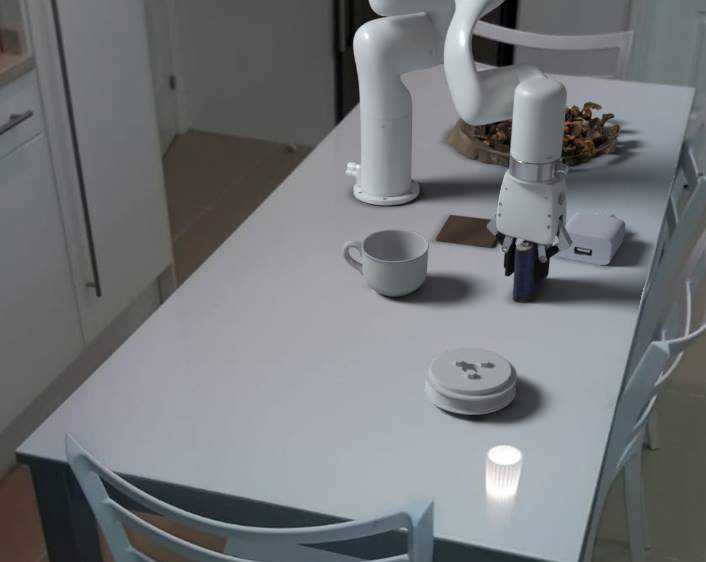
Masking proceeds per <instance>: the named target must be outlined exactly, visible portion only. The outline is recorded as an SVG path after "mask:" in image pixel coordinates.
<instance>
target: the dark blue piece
mask: <svg viewBox="0 0 706 562" xmlns="http://www.w3.org/2000/svg"><path fill="white" fill-rule="evenodd" d="M538 259H539V254H538V246H537V243H536V242H531V241H527V240H522V241H520V243H517V244H516V249H515V265H514V273H513V284H512V287H513V288H512V300H513V302H516V303H524V302H527V301H529V300H530V299H531V298H532V297H533V296H535V294H536V292H537V290H538V289H539V287H540V285H541V282H540V283H539V284H538V285H537V284H535V283H534V273H535V263H536V261H537V260H538Z"/></svg>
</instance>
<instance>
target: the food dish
mask: <svg viewBox="0 0 706 562" xmlns="http://www.w3.org/2000/svg"><path fill="white" fill-rule="evenodd" d="M602 109H603V106H602V105H600V104H598V103H595V102H592V101H586V102H585V103H584V104H583V106H582V109H581V110H580V107H578V106H576V104H574V105H572V107H571V108H569V106H568V105H567V104H566V112H565V122H564V132H563V142H562V152H561V157H562V163H563V164H564V165H568V166H569V167H573V166H575V165H579V164H581V163H587V162H589V161H590V160H591V159H592V158H597V157H598V156H599V155H602V154H605V155H610V154H614V153H615V152H616V148H617V145H618V139H619V136H620V133H621V124H619V123H614V124H613V125H612V126H611V127H610V128H609V130H608V133H607V132H606V131H605V128H604V127H605V124H606V122H607V121H608V120H610V119H614V118H615V114H614V113H612V112H610V113H609V112H608V113H603V114H602V115H601V118H600V117H598V116H595V117H593V112H592V110H596V111H600V110H602ZM592 117H593V118H592ZM512 120H513V119H508V120H503V121H499V122H494V123H489V124H485V125H470V124H468V123H466V122H465V121H464V120H463V119H462V118H461V117H460V116H459V118H458V120H457V121H456V123H455V125H454V127H453V129H452V130H451V131H450V132H449V133H448V135H447V138H446V141H445V143H446V144H448V145H449V146H451V147H452V148H454V149H455V150H456V151H457V153H460V154H462V155H463V156H464V157H466V158H468V159H470V160H474V161H475V160H477V161H480V162H482V163H484V164H493V165H498V166H501V167H506V168H509V163H510V149H511V134H512Z"/></svg>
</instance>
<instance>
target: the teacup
mask: <svg viewBox="0 0 706 562" xmlns="http://www.w3.org/2000/svg"><path fill="white" fill-rule="evenodd" d="M351 248H354V249H355V250H357V251H358V253H359V255H360V257H361V259H362V263H361V262H359V261H357V260H356V259H355V258H353V257H352V256H351V254H350V252H349V250H350V249H351ZM429 249H430V243H429V241H428V239H427V238H426V237H425V236H424V235H422V234H421V233H419V232H418V231H417V232H416V231H414V230H410V229H406V228H385V229H380V230H377V231H374V232H372V233H370V234H369V235H367V236H366V237H365V238H363V240H362V242H360V241H359V240H356V239H350V240H348V241H346V242H345V244H344V245H343V246H342V252H341V253H342V257H343V259H344V261H345V263H347V264H348V265H349V266H351V268H353V269H354V270H356V271H358V272H359V273H360V275H361V276H363V278H364V280H365V282H366V284H367V286H369V287H370V288H371V289H372V290H373V291H376V292H377V293H378V294H381V295H383V296H386V297H394V298H397V297H403V296H406V295H409V294H411V293H413V292H414V291H416V290H418V288H420V287H421V286H422V285H423V284H424V282H425V280H426V277H427V273H428V263H429Z"/></svg>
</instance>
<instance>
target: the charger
mask: <svg viewBox="0 0 706 562" xmlns="http://www.w3.org/2000/svg"><path fill="white" fill-rule="evenodd" d="M566 230H567V232H568V234H569V236H570V238H571V240H572V242H573V244H572V245H571V246H570V247H569V248H568V249H566V250H563V251H561V252H558V253H557V254H556V255H557V256H558V257H560V258H563V259H567V260H570V261H571V260H572V261H577V262H582V263H587V264H593V265H598V266H606V265H609V264H610V263H611V262H612V260H613V258H614V256H615V254H616V253H617V251H618V250H619V248H620V247H621V245H622V244H623V243H624V238H625V231H626V222H625V221H624V220H623V219H621V218H618V217H617V216H615V214H614V213H607V212H603V211H597V212H593V213H589V212H584V211H583V212H582V211H577V212H574V213H573V214H572V216H570V218H569V219H568V221H566ZM556 243H559V239H558V237H557V239H556Z"/></svg>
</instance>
